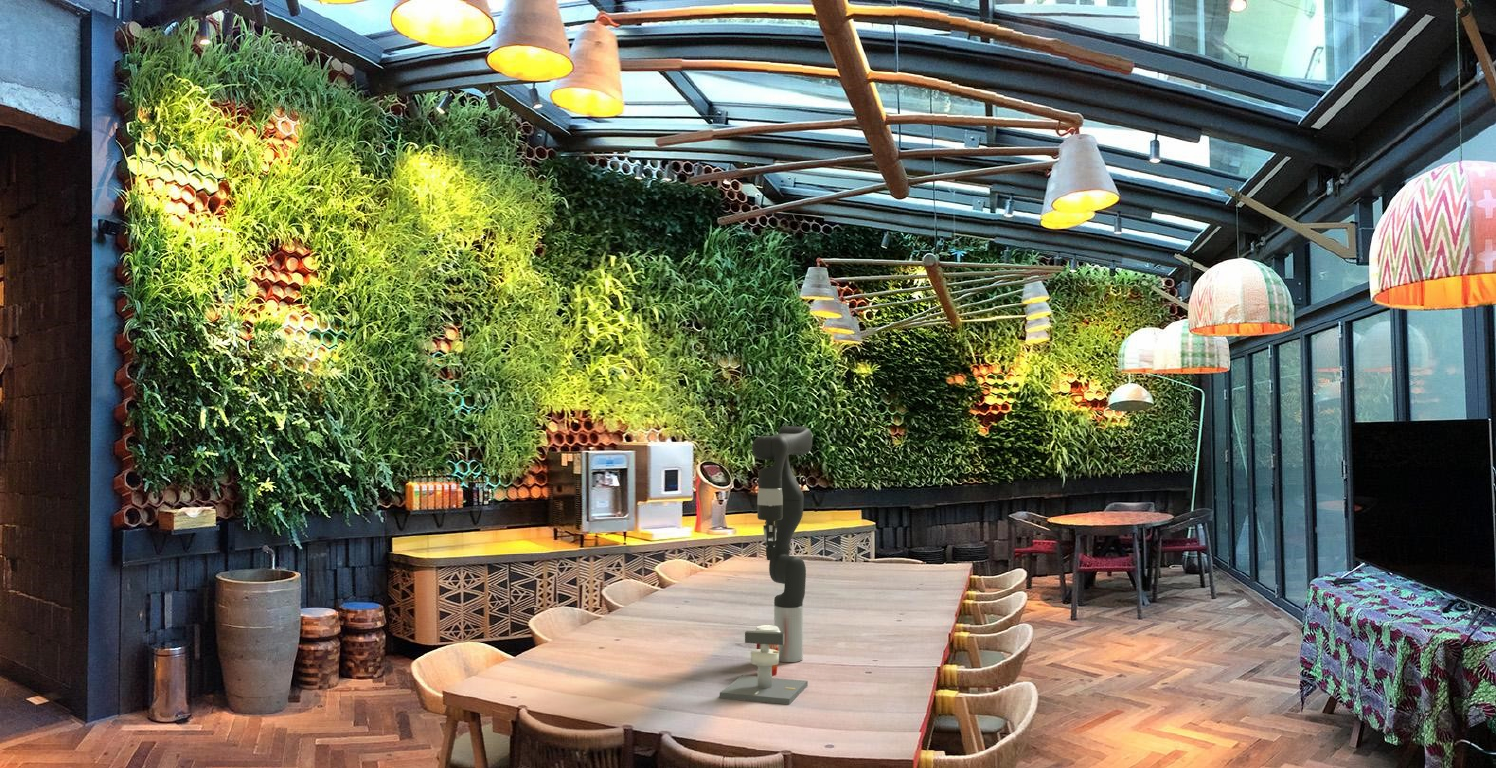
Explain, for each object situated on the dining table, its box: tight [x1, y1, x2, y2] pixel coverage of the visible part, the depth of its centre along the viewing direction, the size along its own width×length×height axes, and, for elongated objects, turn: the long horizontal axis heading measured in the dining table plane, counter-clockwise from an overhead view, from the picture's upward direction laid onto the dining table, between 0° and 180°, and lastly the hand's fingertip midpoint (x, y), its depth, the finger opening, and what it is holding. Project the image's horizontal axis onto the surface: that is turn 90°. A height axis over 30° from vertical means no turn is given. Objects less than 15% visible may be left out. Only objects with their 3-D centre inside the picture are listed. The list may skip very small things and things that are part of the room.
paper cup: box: [755, 624, 781, 677], centre depth 301 cm, size 8×8×14 cm
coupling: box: [744, 630, 785, 667], centre depth 281 cm, size 11×8×8 cm
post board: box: [719, 666, 809, 705], centre depth 281 cm, size 20×20×8 cm
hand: (770, 558), depth 294 cm, fingers open, 8 cm apart
